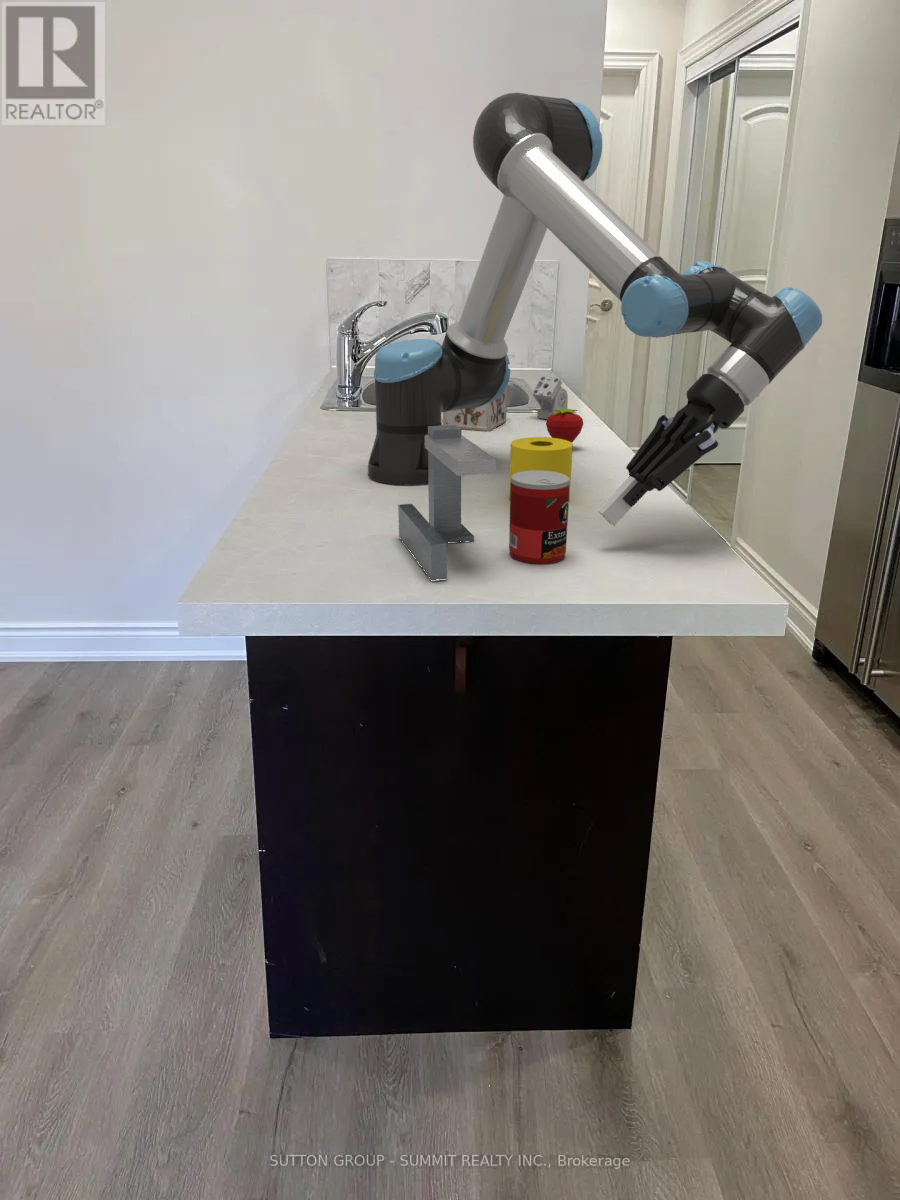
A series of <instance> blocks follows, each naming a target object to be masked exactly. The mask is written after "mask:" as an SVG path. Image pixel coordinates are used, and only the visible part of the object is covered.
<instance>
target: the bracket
mask: <svg viewBox="0 0 900 1200" xmlns="http://www.w3.org/2000/svg"><path fill="white" fill-rule="evenodd" d="M462 431H463V429H461V428H459V427H458V426H457V425H443V424H441V426H428V435H425V448H426V449H427V450H428V481H429V483H428V520H427V519H426V518H425V517H424V516H423V514H422V513H420V511H419V510H418V508H416V506H415V505H414V504H413V503H404V504H403V503H402V504H398V505H397V507H398V538H399V537H400V538H401V540H402V541H403V543H404V544H405V545H406V546H407V548H408V549H409V550H410V551H411V553H412V554H413V555H414V557H415V558H416V560H417V561H418V562H419V564H420V565H421V566H422V568H423V569H424V570H425V572H426V573H427V575H428V576H429V577H430V579H431V580H436V579H447V576H448V575H447V573H448V571H447V570H448V569H447V567H448V563H447V562H448V561H447V557H448V556H447V554H448V553H447V552H448V551H447V550H448V549H447V547H448V546H447V545H448V544H447V543H448V542H460V541H461V542H462V543H464V542H463V541H473V542H475V536H474V535H473V533H472V532H470V530H469V529H468V528H466V526H465V525H464V524H463V523H462V476H474V475H475V476H476V475H489V474H496V473H497V459H496V457H494V456H492V455H491V454H489V453H488V452H486V451H485V450H484V449H482V448H481V447H480V446H478V445H477V444H475V443H473V442H472V441H471V440H469V438H466V437H465V436H463V434H462ZM401 540H400V541H401ZM402 541H401V542H402ZM403 543H402V544H403ZM404 544H403V545H404ZM405 545H404V546H405ZM407 548H406V549H407ZM408 549H407V550H408ZM411 553H410V554H411ZM414 557H413V558H414ZM416 560H415V561H416ZM419 564H418V565H419ZM422 568H421V569H422ZM425 572H424V573H425ZM427 575H426V576H427ZM428 576H427V577H428ZM430 579H429V580H430ZM431 580H430V581H431Z"/></svg>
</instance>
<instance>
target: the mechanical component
mask: <svg viewBox="0 0 900 1200" xmlns="http://www.w3.org/2000/svg"><path fill="white" fill-rule="evenodd" d="M562 385H563V382H562V380H561V378H560V377H554V376H545V375H542V376H540V377H539V380H538V381H537V383H536V385H535V387H534V388H533V390H532V392H531V394H532V396H533V398H534V399H535V401H536V402H537V403H538V405H539V406H540V409H538V410H537V411H536V412H537V413H536V414H537V415H536V417H537V418H539V419H544V420H545V419H546V420H547V418H548V417H549V416H550V415H551V414H555V413H557V411H552V410H555V409H562V405H563V408H565V409H568V406H569V405H568V402H569V399H568V392H567V390H566V389H565V388H563V387H562ZM564 401H565V402H564ZM563 403H564V404H563Z"/></svg>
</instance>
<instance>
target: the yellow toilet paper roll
mask: <svg viewBox="0 0 900 1200" xmlns="http://www.w3.org/2000/svg"><path fill="white" fill-rule="evenodd" d="M509 456H510V457H509V458H510V459H509V487H508V488H509V490H508V491H509V492H508V493H509V494H508V495H509V497H508V498H509V499H508V501H510V488H511V477H512V475H513V474H515V473H518V472H523V471H533V470H540V471H552V472H557V473H561V474H564V475H566V476H568V477H569V482H570V485H569V503H570V502H571V500H570V499H571V485H572V484H571V482H572V481H571V480H572V462H573V461H572V460H573V442H572V443H571V442H569V441H567V440H563V439H558V438H552V437H547V436H546V437H545V436H544V437H543V436H534V437H530V436H529V437H522V438H517V439H513V440H511V442H510V455H509Z"/></svg>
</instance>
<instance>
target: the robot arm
mask: <svg viewBox="0 0 900 1200" xmlns="http://www.w3.org/2000/svg"><path fill="white" fill-rule="evenodd" d="M472 146H473V152H474V156H475V159H476V162H477V164H478V167H479V169H480V170H481V171H482V173H483V174H484V176H485V177H486V178H487V179H488V181H490V183H491V184H493V186H494V187H495V188H497V190H498V191H500V193H501V194H502V195H503V197H502V199H501V202H500V205H499V207H498V208H499V209H498V211H497V212H496V213H497V214H496V217H495V220H494V223H492V224H493V226H491V227H492V228H491V231H490V233H489V236H488V239H487V242H486V244H485V247H484V250H483V253H482V256H481V258H480V261H479V265H478V267H477V270H476V272H475V276H474V278H473V282H472V283H471V284H472V285H471V287H470V290H469V293H468V296H467V297H466V301H465V304H464V307H463V309H462V313H461V316H460V318H459V320H458V321H456V322H454V323H451V324H450V325H448V327H447V330H446V332H445V334H444V338H443V341H442V344H441V343H440V342H439V341H437V340H435V339H430V338H417V339H416V338H415V339H411V340H399V341H396V342H395V341H394V342H391V343H388V344H385V345H383V346H382V347H380V348H379V349H378V350H377V351H376V354H375V356H374V371H373V378H374V388H375V389H374V390H375V393H374V394H375V418H376V421H375V422H376V423H375V424H376V432H375V433H376V435H375V439H374V442H373V445H372V448H371V452H370V455H369V459H368V462H367V463H368V464H367V473H368V474H367V475H368V477H369V479H371V480H373V481H375V482H378V483H383V484H389V485H398V486H400V485H402V486H407V485H408V486H412V485H416V486H417V485H427V484H428V485H429V481H428V450H427V449H426V448H425V435H428V426H442V413H443V412H447V411H453V410H459V409H465V408H476V407H480V406H483V405H485V404H488V403H491V402H493V401H495V400H496V399H498V398H499V397H500V396H501V395H502V393H503V392H504V391H505V389H506V387H507V388H508V385H509V381H510V377H511V368H509V365H510V358H509V355H508V352H509V347H508V344H507V342H506V341H505V336H506V334H507V331H508V329H509V327H510V324H511V321H512V319H513V316H514V313H515V311H516V308H517V307H518V304H519V301H520V298H521V296H522V294H523V290H524V289H525V286H526V284H527V281H528V279H529V276H530V273H531V271H532V268H533V265H534V263H535V261H536V258H537V255H538V253H539V251H540V249H541V245H542V243H543V240H544V238H545V235H546V233H547V230H549V231H550V232H551V233H552V234H553V235H554V236H555V237H556V238H557V239H558V240H559V241H560V242H561V243H562V244H563V245H564V247H566V248H567V249H568V250H569V251H570V253H571V254H573V255H574V256H575V257H576V258H577V259H578V261H579V262H581V263H582V264H583V265H584V266H585V267H586V268H587V269H588V270H589V271H590V272H591V273H592V274H593V275H594V276H595V277H596V278H597V279H598V281H600V282H601V283H602V284H603V285H604V286H605V287H606V288H607V289H608V290H609V291H610V292H611V294H613V295H614V296H615V297H616V298H617V299H618V300H619V301H620V303H621V304H620V305H621V307H620V309H621V310H620V311H621V315H622V316H623V321H624V324H625V327H627V328H628V330H629V331H630V332H632V333H633V334H635V335H636V336H639V337H643V338H644V337H645V338H646V337H648V338H650V337H651V338H656V339H657V338H666V337H671V336H675V335H681V334H686V333H687V334H689V333H699V332H705V331H711V332H713V333H714V334H716V335H718V336H719V337H720V338H723V340H726V341H727V342H729V343H730V345H728V346H727V347H726V348H725V349H724V350H723V352H721V354H720V355H719V356H718V357H717V358H716V359H715V360H714V361H713V363H711V365H710V366H709V367H708V368H707V373H703V374H701V375H700V376H699V378H698V379H697V380H696V381H695V382H694V383H693V384H692V385H691V386H690V387H689V388H688V390H687V392H686V399H687V403H686V404H685V406H683V407H682V408H680V409H679V410H678V411H677V412H676V413H675V415H674V416H672V417H667V416H666V415H665V414H663V415H660V416H659V417H658V419H657V422H656V424H655V425H654V428H653V429H652V431H651V432H650V433H649V434H648V436H647V437H646V439H645V441H644V442H643V443H642V445H641V446H640V447H639V448H638V450H637V451H636V452H635V454H634V455H633V457H632V458H631V460H630V461H629V462H628V463H627V465H626V467H625V468H626V470H627V471H628V475H629V476H628V477H627V479H626V480H624V481H623V483H622V484H621V485H619V487H618V488H617V489H616V490H615V492H614V493H613V494H612V495H611V496H610V497H609V498H608V499H607V501H605V502H604V504H602V506H601V507H600V508H599V509H598V510H597V512H598V513H599V514H600V515H601V516H602V518H604V519H605V520H606V521H607V523H609V524H610V525H612V526H613V527H615V526H616V525H617V524H618V523H619V521H620V520H621V519H622V518H624V516H625V515H626V514H627V513H628V512H629V511H630V510H631V509H632V508H633V507H634V506H635V505H636V504H637V503H638V502H639V501H640V500H641V498H643V497H644V495H646V493H647V492H652V491H654V489H655V490H657V491H658V492H661V491H663V490H664V489H665V488H666V487H668V486H669V485H670V484H671V483H672V482H673V481H675V480H676V479H677V478H678V477H679V476H680V475H682V474H683V473H684V472H685V471H687V469H690V467H691V466H692V465H694V463H696V462H697V461H699V459H701V458H702V457H703V456H704V455H706V454H708V453H710V452H711V451H713V450H714V449H716V448H717V447H718V446H719V442H718V441H717V440H716V438H715V436H714V435H715V434H716V433H717V432H718V429H723V430H725V429H728V428H730V427H731V426H732V424H734V422H735V421H737V419H739V417H740V416H741V415H742V414H743V413H744V412H745V407H747V406H749V405H751V404H752V402H753V401H754V400H755V399H756V398H758V397H759V396H760V394H761V393H762V392H763V391H764V389H766V387H767V386H768V385H770V384H771V382H772V381H773V380H774V379H775V378H776V377H777V376H779V373H781V372H782V371H783V370H784V368H786V367H787V366H788V365H789V363H791V362H792V360H793V359H794V358H795V357H796V356H797V355H798V354H799V353H800V352H802V351H803V350H804V349H805V348H806V345H807V344H808V343H809V342H810V341H811V340H812V338H813V337H814V336H815V335H816V334H817V332H818V331H819V330H820V329H821V327H822V325H823V315H822V311H821V309H820V307H819V305H818V304H817V302H815V301H814V299H813V298H811V297H810V296H809V295H808V294H807V293H806V292H804V291H802V290H800V289H798V288H792V287H787V286H786V287H784V288H782V289H781V290H779V291H778V292H777V293H775V294H774V295H773V296H769V295H768V294H766V293H764V292H761V291H760V290H758V289H756V288H755V287H753V286H751V285H750V284H749V283H747V282H745V281H744V280H742V279H741V278H739V277H737V276H735V275H734V274H732V273H731V272H730V271H729V270H727V269H726V268H725V267H722V266H721V265H720V266H719V265H716V264H714V263H712V262H711V261H708V260H699V261H696V262H695V263H694V264H693V265H690V266H688V267H687V268H686V269H685V270H684V271H683V273H679V272H678V271H676V270H675V269H674V268H673V267H672V266H671V265H670V264H669V263H668V262H667V261H666V260H665V259H664V258H662V257H661V255H660V254H659V253H658V252H657V251H655V250H654V249H653V247H651V246H650V245H649V244H648V243H647V241H646V240H644V239H643V238H642V237H641V236H640V235H639V234H638V233H637V232H636V231H635V230H633V228H632V227H631V226H629V224H627V223H626V222H625V220H623V219H622V218H621V217H620V216H619V215H618V214H617V213H616V212H615V211H614V210H613V209H612V208H611V207H610V206H609V205H608V204H607V203H606V202H604V201H603V200H602V199H601V197H599V196H598V195H597V193H595V192H594V191H593V190H592V189H591V188H590V187H589V186H588V185H587V184H586V183H584V182H585V181H586V180H590V178H591V177H592V176H593V175H594V173H595V172H596V170H597V169H598V166H599V164H600V163H601V162H600V161H601V158H602V157H601V156H602V153H603V134H602V132H601V130H600V124H599V121H598V119H597V117H596V115H595V113H593V110H591V109H590V108H589V107H587V106H586V105H584V104H583V103H581V102H577V101H573V100H570V99H568V98H565V97H559V98H558V97H551V96H544V95H543V96H542V95H536V94H535V95H534V94H528V93H523V92H510V93H509V92H508V93H505V94H502V95H500V96H498V97H496V98H494V99H493V100H492V101H490V102H489V103H488V104H487V105H486V106H485V107H484V109H482V111H481V113H480V114H479V116H478V118H477V120H476V122H475V127H474V130H473V135H472Z"/></svg>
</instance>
